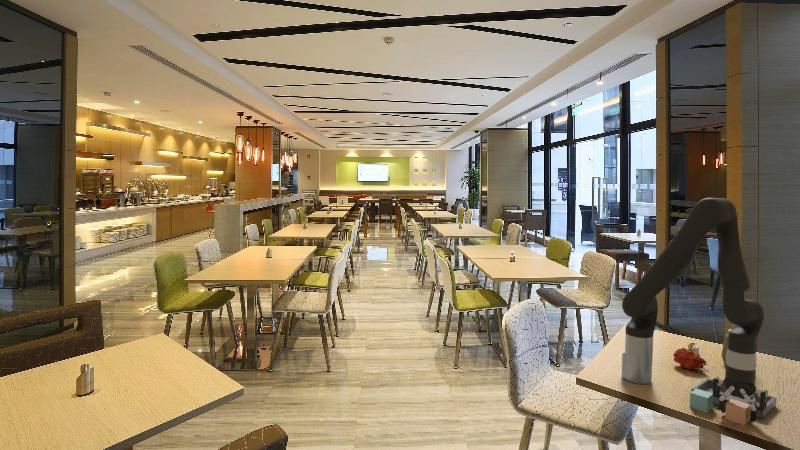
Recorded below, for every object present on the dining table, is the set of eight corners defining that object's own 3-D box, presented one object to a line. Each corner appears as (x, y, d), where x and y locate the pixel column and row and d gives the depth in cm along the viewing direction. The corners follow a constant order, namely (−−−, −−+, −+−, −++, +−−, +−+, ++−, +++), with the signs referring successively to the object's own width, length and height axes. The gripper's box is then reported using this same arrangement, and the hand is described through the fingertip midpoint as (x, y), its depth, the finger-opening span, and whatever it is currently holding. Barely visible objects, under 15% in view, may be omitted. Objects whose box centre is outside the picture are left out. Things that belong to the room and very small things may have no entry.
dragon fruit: (671, 366, 193) (703, 380, 184) (665, 359, 188) (698, 373, 179) (680, 348, 195) (712, 361, 186) (675, 340, 190) (708, 353, 180)
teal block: (689, 407, 155) (690, 392, 155) (695, 402, 158) (696, 388, 158) (706, 413, 151) (707, 398, 151) (712, 408, 155) (713, 393, 154)
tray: (691, 397, 162) (691, 388, 162) (706, 386, 171) (707, 378, 171) (762, 419, 147) (763, 410, 146) (775, 406, 155) (776, 397, 155)
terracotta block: (725, 419, 148) (726, 403, 147) (730, 414, 151) (731, 398, 150) (744, 425, 144) (745, 409, 143) (749, 420, 147) (750, 404, 146)
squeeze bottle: (735, 362, 194) (738, 318, 192) (750, 369, 185) (753, 324, 184) (716, 362, 193) (718, 319, 192) (730, 370, 185) (733, 325, 184)
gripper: (709, 360, 149) (707, 411, 150) (765, 375, 138) (762, 429, 139) (718, 355, 154) (715, 404, 155) (773, 368, 142) (770, 421, 144)
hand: (737, 416), depth 147 cm, fingers open, 7 cm apart
